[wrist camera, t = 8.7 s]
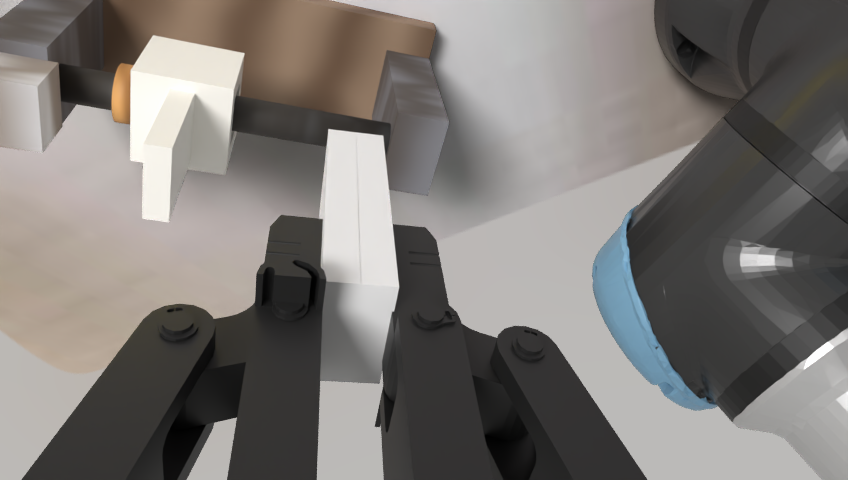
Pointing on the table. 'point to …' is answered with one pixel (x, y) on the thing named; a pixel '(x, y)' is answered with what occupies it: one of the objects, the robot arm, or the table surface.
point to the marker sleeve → (181, 116)
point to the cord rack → (261, 80)
